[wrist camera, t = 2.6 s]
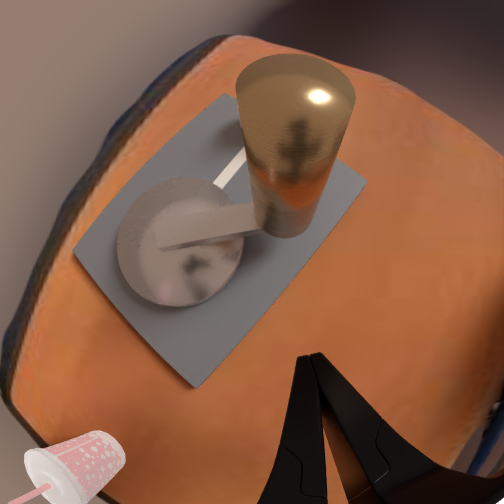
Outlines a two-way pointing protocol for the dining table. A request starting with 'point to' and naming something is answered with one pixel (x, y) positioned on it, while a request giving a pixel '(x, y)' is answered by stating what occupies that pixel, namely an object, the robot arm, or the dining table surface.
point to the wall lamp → (261, 181)
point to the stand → (254, 257)
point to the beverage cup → (73, 468)
